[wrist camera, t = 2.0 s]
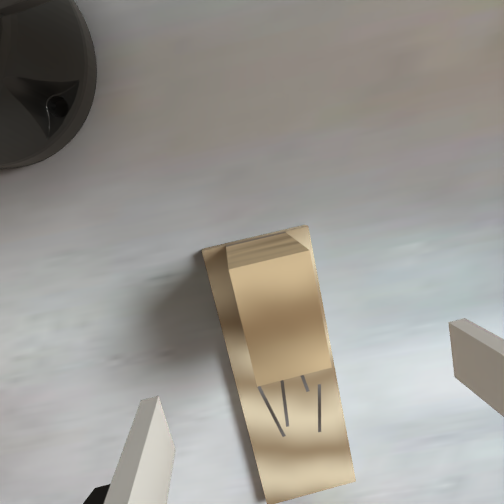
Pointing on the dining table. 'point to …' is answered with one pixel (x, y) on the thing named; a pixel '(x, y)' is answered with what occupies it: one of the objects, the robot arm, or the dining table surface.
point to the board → (284, 401)
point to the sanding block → (278, 307)
